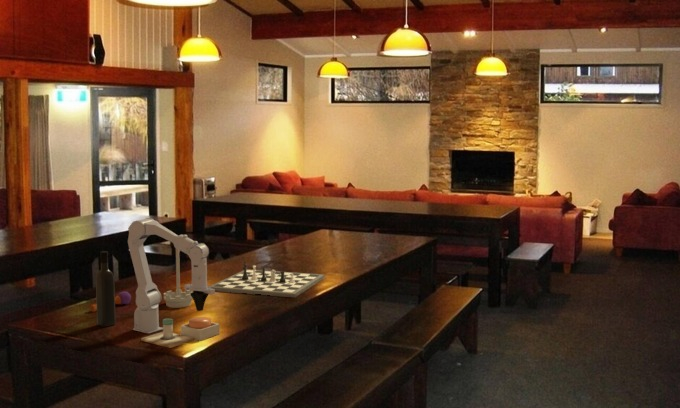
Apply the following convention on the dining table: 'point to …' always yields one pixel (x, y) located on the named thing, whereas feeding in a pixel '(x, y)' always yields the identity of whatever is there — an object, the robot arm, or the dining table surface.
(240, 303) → the dining table surface
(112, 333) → the dining table surface
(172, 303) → the flag stand
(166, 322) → the jar with green lid
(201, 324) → the orange dome
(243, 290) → the chess set
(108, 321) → the wine bottle
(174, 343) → the board
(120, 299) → the kendama
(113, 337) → the dining table surface
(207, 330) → the open square beige box
